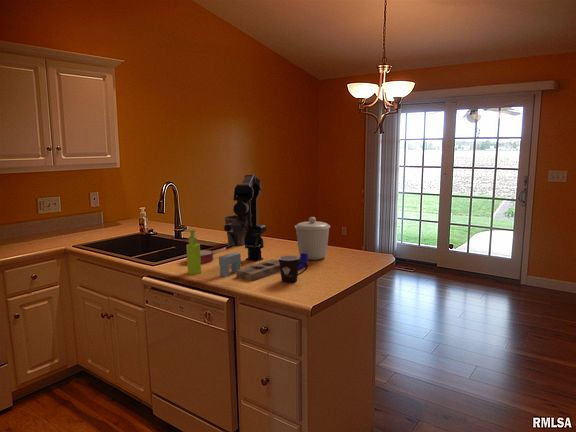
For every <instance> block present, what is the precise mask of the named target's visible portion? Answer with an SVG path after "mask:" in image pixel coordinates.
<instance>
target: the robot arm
mask: <svg viewBox="0 0 576 432" xmlns="http://www.w3.org/2000/svg"><path fill="white" fill-rule="evenodd" d="M233 191H234V192H233V199H232V200H233V201H234V202H236V203H234V205H233V209H232V210H233V213H234V215H237V217H236V220H235V221H234V222H233V223H229V224H224V226H223V231H224V232H226V234H227V233H229V234H230V235H231V236H232V238H233V241H234V243H235V246H234V247H238V232H242V231H243V230H247V232H246V236H245V239H244V241H245V245H244V249H247V258H245V260H247V261H251V262H257V261H261V260H264V257H262V249H264V248H265V245H264V239H263V237H262V234H264V233H265V232H267V227H266V225H265V224H258V198H259V197H260V195H261V191H262V182H261V179H259V178H258V177H257V176H256V175H255V174H245V175H244V179H243V180H242V182H240V183H237V184H236V185H235V187H234V190H233Z"/></svg>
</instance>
